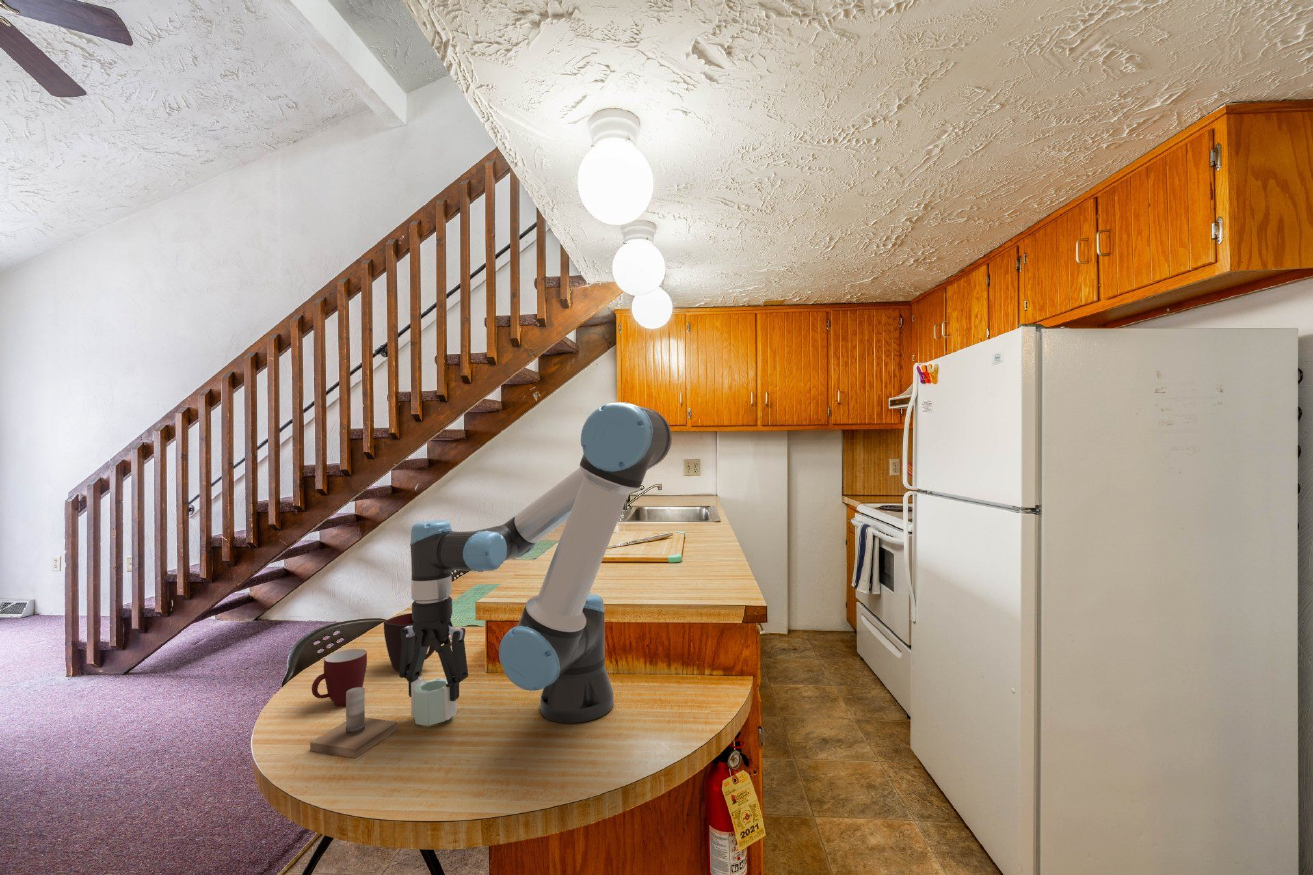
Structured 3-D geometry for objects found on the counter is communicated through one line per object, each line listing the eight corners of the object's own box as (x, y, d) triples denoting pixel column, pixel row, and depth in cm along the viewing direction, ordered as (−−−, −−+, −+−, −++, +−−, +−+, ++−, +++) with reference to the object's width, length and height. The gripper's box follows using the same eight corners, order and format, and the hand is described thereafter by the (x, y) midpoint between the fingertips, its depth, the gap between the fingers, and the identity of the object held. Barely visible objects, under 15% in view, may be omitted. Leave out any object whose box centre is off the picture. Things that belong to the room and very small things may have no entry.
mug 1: (326, 719, 107) (326, 669, 108) (302, 711, 111) (303, 662, 111) (374, 698, 117) (375, 651, 117) (351, 691, 120) (351, 646, 121)
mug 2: (410, 657, 140) (410, 611, 141) (450, 664, 135) (450, 617, 135) (377, 671, 131) (377, 622, 132) (418, 680, 126) (418, 628, 126)
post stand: (397, 729, 103) (397, 682, 103) (355, 757, 93) (355, 705, 93) (355, 723, 105) (355, 677, 106) (310, 750, 96) (310, 699, 96)
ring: (460, 709, 109) (459, 679, 109) (437, 726, 102) (436, 694, 102) (430, 706, 111) (430, 677, 111) (406, 722, 104) (406, 691, 104)
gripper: (486, 595, 108) (488, 710, 107) (404, 592, 114) (405, 702, 113) (463, 605, 101) (466, 728, 100) (377, 601, 106) (378, 719, 105)
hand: (434, 714), depth 106 cm, fingers closed on ring, 7 cm apart
